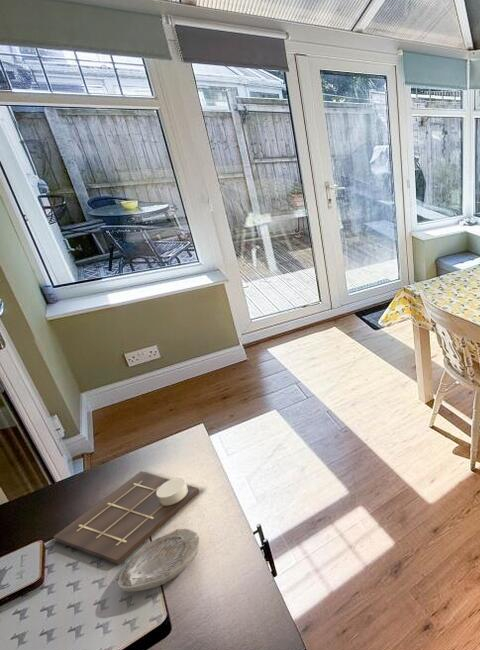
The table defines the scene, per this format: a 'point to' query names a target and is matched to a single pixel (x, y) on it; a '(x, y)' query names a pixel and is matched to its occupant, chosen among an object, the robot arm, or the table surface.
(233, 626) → the table surface
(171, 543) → the fossil
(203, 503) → the table surface
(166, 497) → the stone
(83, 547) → the board
